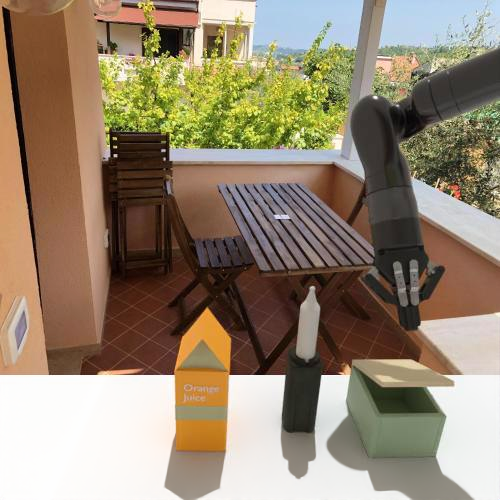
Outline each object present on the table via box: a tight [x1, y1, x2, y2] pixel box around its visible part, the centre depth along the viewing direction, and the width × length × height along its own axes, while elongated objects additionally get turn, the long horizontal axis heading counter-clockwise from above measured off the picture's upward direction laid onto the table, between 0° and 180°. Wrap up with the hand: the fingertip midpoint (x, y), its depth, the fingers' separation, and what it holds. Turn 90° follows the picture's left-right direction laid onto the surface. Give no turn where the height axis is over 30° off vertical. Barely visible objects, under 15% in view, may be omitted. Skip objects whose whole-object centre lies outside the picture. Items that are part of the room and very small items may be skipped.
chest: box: [345, 363, 447, 459], centre depth 70 cm, size 13×11×8 cm
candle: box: [281, 285, 324, 434], centre depth 67 cm, size 5×5×25 cm
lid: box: [351, 358, 455, 388], centre depth 67 cm, size 13×11×1 cm
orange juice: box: [173, 307, 232, 452], centre depth 65 cm, size 8×9×20 cm
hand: (411, 330), depth 66 cm, fingers closed
